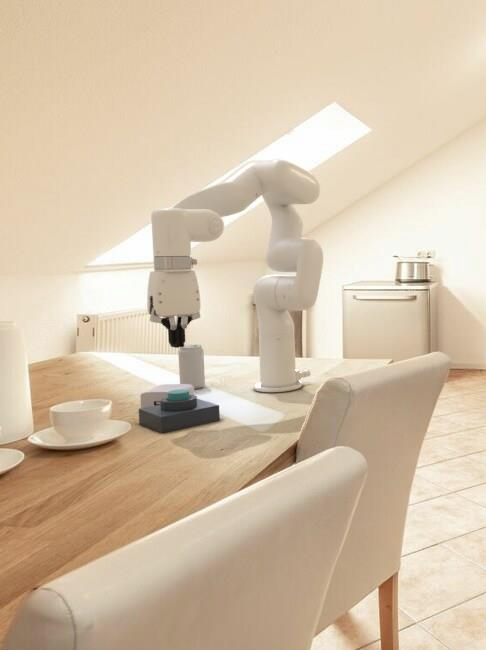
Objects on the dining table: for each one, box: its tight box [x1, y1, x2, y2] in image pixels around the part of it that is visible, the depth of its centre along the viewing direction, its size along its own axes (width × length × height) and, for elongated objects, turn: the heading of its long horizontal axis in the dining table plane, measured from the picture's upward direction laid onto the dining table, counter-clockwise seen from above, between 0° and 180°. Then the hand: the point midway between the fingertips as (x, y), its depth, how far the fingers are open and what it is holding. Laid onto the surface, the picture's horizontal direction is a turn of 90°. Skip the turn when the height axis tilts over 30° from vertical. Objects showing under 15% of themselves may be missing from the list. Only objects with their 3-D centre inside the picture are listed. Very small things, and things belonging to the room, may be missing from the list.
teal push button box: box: [138, 394, 221, 434], centre depth 142 cm, size 13×11×6 cm
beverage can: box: [177, 344, 206, 390], centre depth 176 cm, size 6×6×12 cm
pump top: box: [168, 389, 190, 401], centre depth 141 cm, size 4×4×2 cm
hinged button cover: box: [139, 383, 195, 408], centre depth 158 cm, size 5×9×15 cm
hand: (177, 346), depth 141 cm, fingers closed
